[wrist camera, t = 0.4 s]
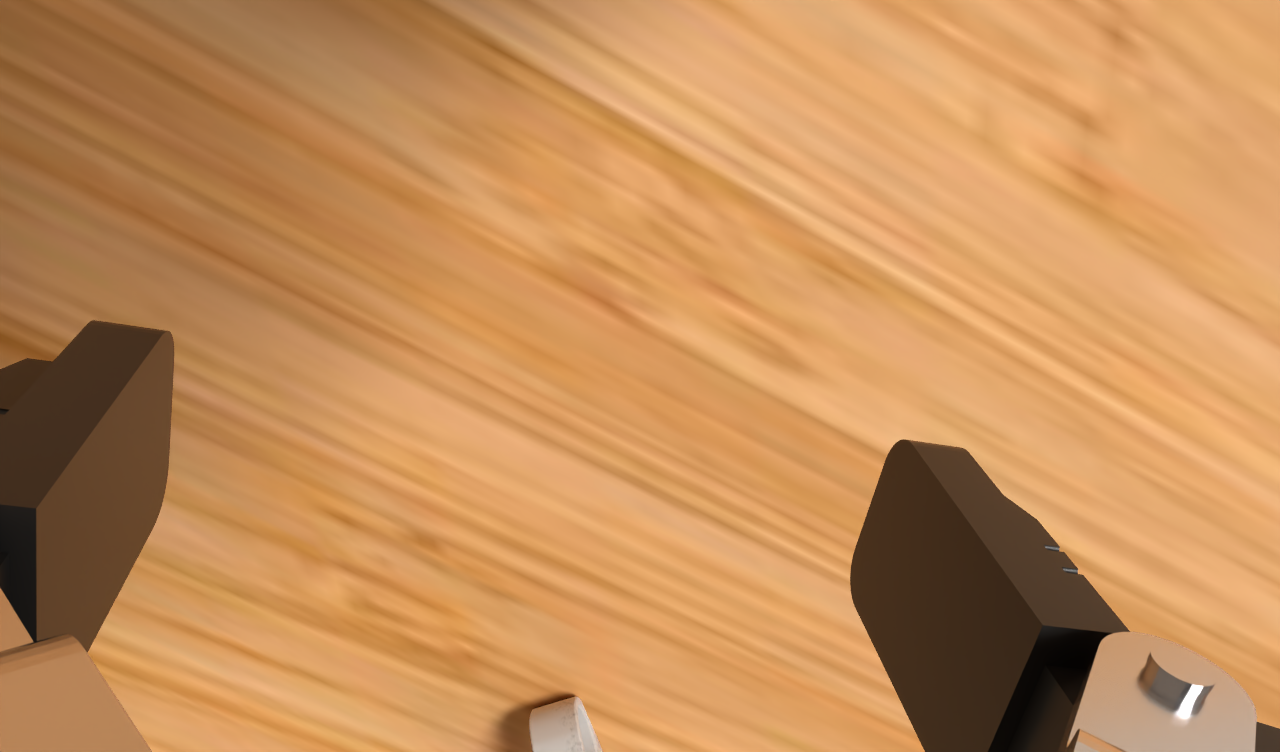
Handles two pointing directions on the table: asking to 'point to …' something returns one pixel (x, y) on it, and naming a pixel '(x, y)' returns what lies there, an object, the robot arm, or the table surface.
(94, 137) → the table surface
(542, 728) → the wrench
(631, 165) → the table surface
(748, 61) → the table surface
